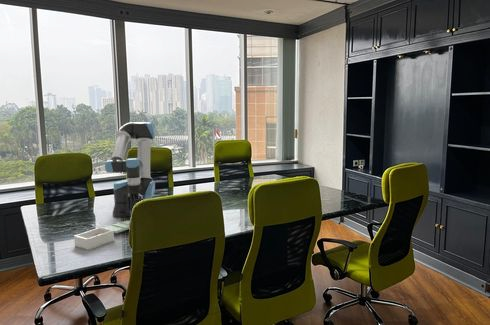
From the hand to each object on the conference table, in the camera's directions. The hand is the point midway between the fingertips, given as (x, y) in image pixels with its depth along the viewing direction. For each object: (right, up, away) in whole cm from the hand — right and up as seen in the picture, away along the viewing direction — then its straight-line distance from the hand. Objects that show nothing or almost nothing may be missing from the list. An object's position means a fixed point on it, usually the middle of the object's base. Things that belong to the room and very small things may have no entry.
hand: (136, 221), depth 225 cm
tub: (-14, -7, -28) cm, 32 cm away
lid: (-5, -2, -7) cm, 9 cm away
